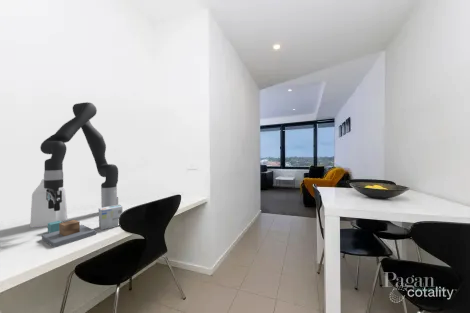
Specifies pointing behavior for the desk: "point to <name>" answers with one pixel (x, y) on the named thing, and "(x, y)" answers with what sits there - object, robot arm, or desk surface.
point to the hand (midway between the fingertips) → (53, 209)
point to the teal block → (53, 226)
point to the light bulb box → (109, 216)
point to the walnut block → (69, 227)
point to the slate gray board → (58, 239)
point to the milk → (46, 208)
